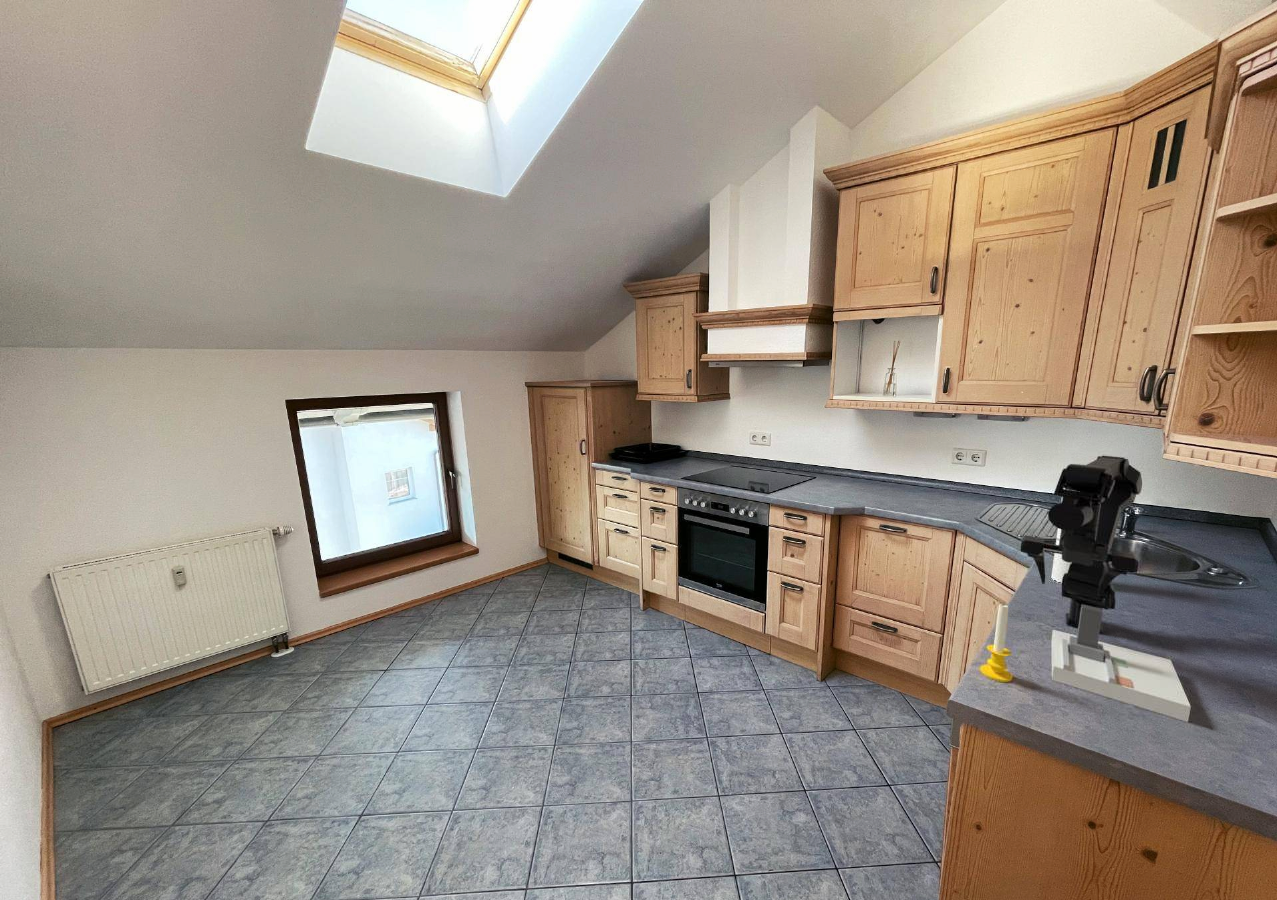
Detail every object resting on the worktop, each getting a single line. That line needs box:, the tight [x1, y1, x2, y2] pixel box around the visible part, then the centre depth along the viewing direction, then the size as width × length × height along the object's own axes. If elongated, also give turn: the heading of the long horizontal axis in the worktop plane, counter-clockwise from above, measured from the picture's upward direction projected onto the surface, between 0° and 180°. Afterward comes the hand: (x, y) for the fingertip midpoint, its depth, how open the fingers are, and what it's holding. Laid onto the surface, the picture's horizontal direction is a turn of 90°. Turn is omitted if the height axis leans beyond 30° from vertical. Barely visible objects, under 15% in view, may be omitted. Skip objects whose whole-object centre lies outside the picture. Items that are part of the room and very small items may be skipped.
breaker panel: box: [1050, 629, 1191, 723], centre depth 94 cm, size 18×18×4 cm
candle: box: [979, 603, 1013, 683], centre depth 95 cm, size 5×5×16 cm
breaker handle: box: [1069, 604, 1104, 662], centre depth 97 cm, size 4×5×10 cm
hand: (1070, 589), depth 105 cm, fingers open, 9 cm apart
